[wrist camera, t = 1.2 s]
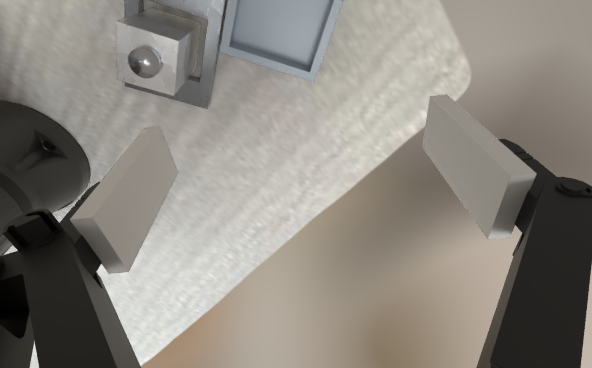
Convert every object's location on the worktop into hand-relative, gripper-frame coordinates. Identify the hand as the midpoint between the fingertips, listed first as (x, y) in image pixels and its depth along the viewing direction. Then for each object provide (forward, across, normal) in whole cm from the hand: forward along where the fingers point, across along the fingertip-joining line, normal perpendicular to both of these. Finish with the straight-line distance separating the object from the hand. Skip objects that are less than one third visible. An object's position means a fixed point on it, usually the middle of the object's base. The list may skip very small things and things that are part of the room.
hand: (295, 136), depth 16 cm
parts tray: (+22, 0, +3) cm, 22 cm away
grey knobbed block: (+22, -12, +1) cm, 25 cm away
